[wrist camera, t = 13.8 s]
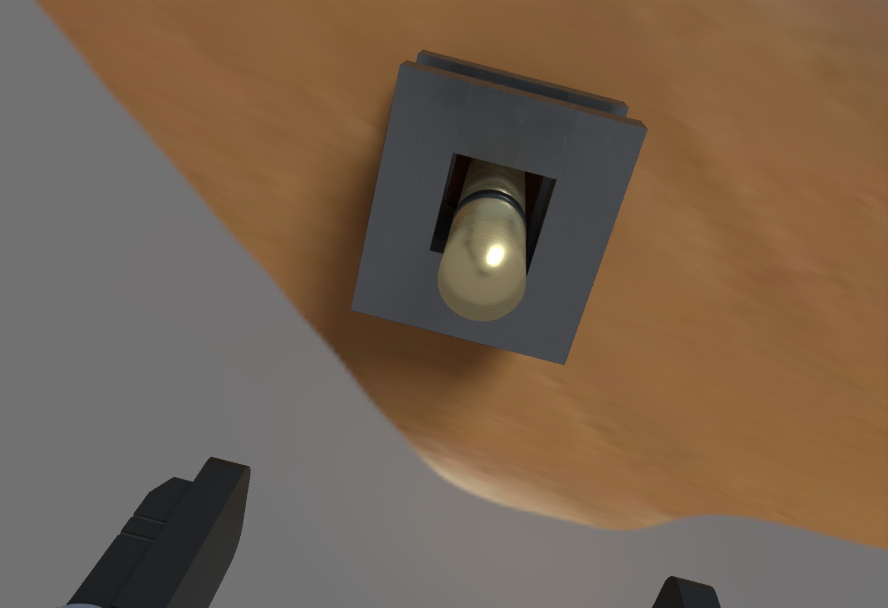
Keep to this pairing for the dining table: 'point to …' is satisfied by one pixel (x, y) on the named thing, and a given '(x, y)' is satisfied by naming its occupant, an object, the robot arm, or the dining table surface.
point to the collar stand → (509, 144)
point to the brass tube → (486, 244)
